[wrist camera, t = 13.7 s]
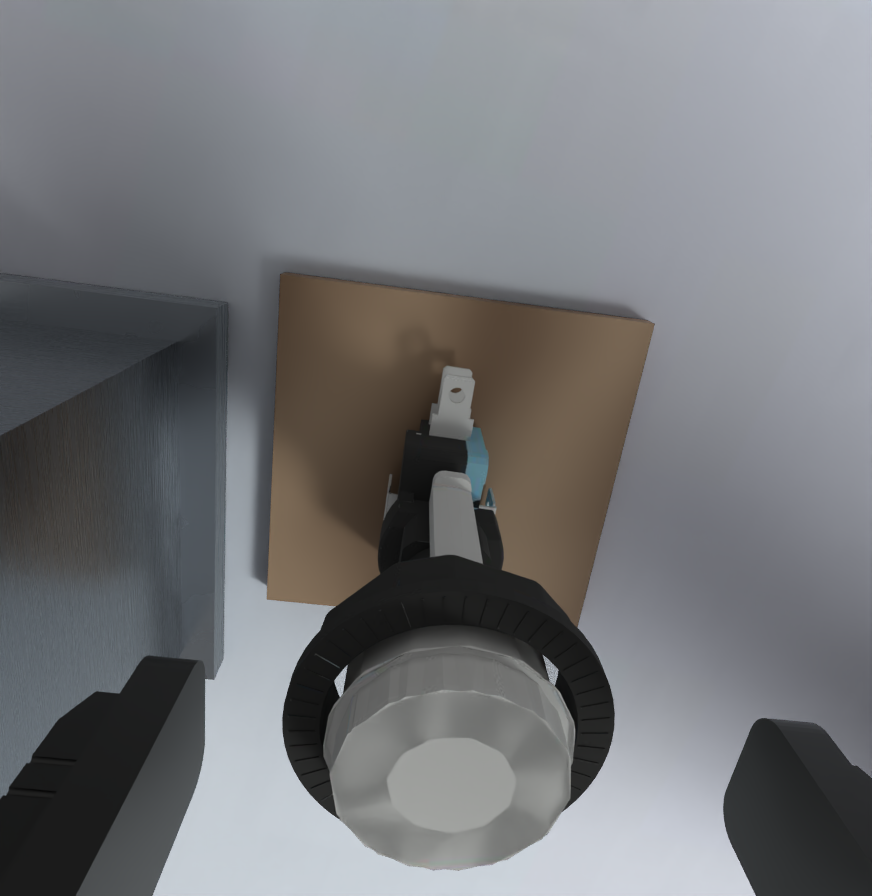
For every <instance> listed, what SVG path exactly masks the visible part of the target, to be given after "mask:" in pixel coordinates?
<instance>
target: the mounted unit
mask: <svg viewBox="0 0 872 896" xmlns="http://www.w3.org/2000/svg"><path fill="white" fill-rule="evenodd" d="M227 339H228V303H227V302H219V301H212V300H204V299H196V298H188V297H181V296H173V295H165V294H157V293H150V292H142V291H134V290H126V289H119V288H111V287H103V286H95V285H88V284H80V283H72V282H64V281H57V280H49V279H41V278H33V277H26V276H18V275H10V274H2V273H0V799H1V797H2V796H3V795H5V796H6V795H7V793H8V791H9V786H10V785H11V784H12V782H13V781H14V779H15V778H16V777H17V775H18V774H19V773H20V771H21V770H22V768H23V767H24V766H25V764H26V763H30V761H31V759H32V755H33V753H34V752H35V751H36V749H37V748H38V747H39V745H40V744H41V742H42V741H43V740H44V738H45V737H46V736H47V734H48V733H49V731H50V730H51V729H52V727H53V726H54V725H55V723H56V722H57V720H58V719H60V718H61V717H62V716H64V715H65V714H66V713H68V712H69V711H70V710H72V709H73V708H74V707H76V706H77V705H78V704H80V703H81V702H82V701H84V700H85V699H86V698H88V697H89V696H90V695H92V694H93V693H94V692H96V691H99V692H109V693H120V692H121V691H122V689H123V687H124V686H125V684H126V683H127V681H128V680H129V678H130V677H131V675H132V673H133V672H134V670H135V669H136V667H137V666H138V664H139V663H140V661H141V660H142V659H143V658H144V657H146V656H148V655H151V656H161V657H171V658H181V659H191V660H201V661H203V663H204V666H205V679H212V680H214V679H215V676H216V674H217V672H218V670H219V667H220V665H221V663H222V661H223V646H224V569H225V492H226V415H227Z"/></svg>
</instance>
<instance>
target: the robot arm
mask: <svg viewBox="0 0 872 896" xmlns="http://www.w3.org/2000/svg"><path fill="white" fill-rule="evenodd" d="M204 746H205V666H204V663H203V661H201V660H191V659H181V658H171V657H161V656H151V655H148V656H146V657H144V658H143V659H142V660H141V661H140V663H139V664H138V666H137V667H136V669H135V670H134V672H133V673H132V675H131V677H130V678H129V680H128V681H127V683H126V684H125V686H124V687H123V689H122V691H121V692H120V693H109V692H99V691H96V692H94V693H93V694H92V695H90V696H89V697H88V698H86V699H85V700H84V701H82V702H81V703H80V704H78V705H77V706H76V707H74V708H73V709H72V710H70V711H69V712H68V713H66V714H65V715H64V716H62V717H61V718H60V719H58V720H57V722H56V723H55V725H54V726H53V727H52V729H51V730H50V731H49V733H48V734H47V736H46V737H45V738H44V740H43V741H42V742H41V744H40V745H39V747H38V748H37V749H36V751H35V752H34V753H33V755H32V759H31V761H30V763H26V764H25V766H24V767H23V768H22V770H21V771H20V773H19V774H18V775H17V777H16V778H15V779H14V781H13V782H12V784H11V785H10V786H9V791H8V793H7V795H6V796H5V795H3V796H2V797H1V799H0V896H152V895H153V893H154V890H155V888H156V885H157V883H158V880H159V878H160V875H161V873H162V870H163V868H164V865H165V863H166V860H167V858H168V856H169V853H170V851H171V848H172V846H173V843H174V841H175V838H176V836H177V833H178V831H179V828H180V826H181V823H182V821H183V818H184V816H185V813H186V811H187V808H188V806H189V803H190V801H191V798H192V796H193V793H194V791H195V788H196V785H197V782H198V778H199V774H200V770H201V766H202V761H203V755H204ZM723 813H724V821H725V827H726V831H727V834H728V837H729V840H730V842H731V845H732V847H733V849H734V851H735V853H736V855H737V857H738V859H739V861H740V863H741V865H742V867H743V870H744V872H745V874H746V876H747V878H748V880H749V882H750V884H751V886H752V888H753V890H754V892H755V895H756V896H872V778H871V777H870V776H868V775H867V774H866V773H865V772H864V771H862V770H861V769H860V768H859V767H858V766H853V765H851V763H850V762H849V761H848V760H847V758H846V757H845V756H844V754H843V753H842V752H841V750H840V749H839V748H838V747H837V745H836V744H835V743H834V741H833V740H832V739H831V737H830V736H829V735H828V734H827V732H826V731H825V730H824V729H823V728H821V727H820V726H818V725H817V724H814V723H808V722H798V721H787V720H777V719H767V718H761V719H759V720H757V721H756V722H755V723H754V724H753V726H752V728H751V730H750V732H749V735H748V737H747V740H746V742H745V745H744V747H743V750H742V752H741V755H740V757H739V760H738V762H737V765H736V767H735V770H734V772H733V775H732V777H731V780H730V782H729V784H728V787H727V789H726V792H725V796H724V804H723Z"/></svg>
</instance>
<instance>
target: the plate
mask: <svg viewBox="0 0 872 896" xmlns="http://www.w3.org/2000/svg"><path fill="white" fill-rule="evenodd" d="M654 325H655V324H654V323H652V322H650V321H648V320H641V319H634V318H626V317H618V316H611V315H603V314H596V313H588V312H581V311H573V310H566V309H558V308H551V307H543V306H536V305H528V304H521V303H513V302H505V301H498V300H490V299H483V298H475V297H468V296H460V295H453V294H445V293H438V292H430V291H423V290H415V289H408V288H400V287H393V286H385V285H377V284H370V283H362V282H355V281H347V280H340V279H332V278H325V277H317V276H310V275H302V274H295V273H287V272H285V273H282V274H280V294H279V318H278V342H277V366H276V390H275V414H274V438H273V462H272V486H271V510H270V534H269V558H268V582H267V599H268V600H278V601H288V602H298V603H308V604H318V605H328V606H337V605H339V604H340V603H341V602H343V601H344V600H345V599H347V598H348V597H350V596H351V595H352V594H354V593H355V592H356V591H358V590H359V589H361V588H362V587H363V586H365V585H366V584H367V583H369V582H370V581H371V580H373V579H374V578H376V577H377V576H378V575H380V572H379V567H378V547H379V540H380V533H381V528H382V523H383V519H384V511H385V504H386V497H387V490H388V483H389V476H390V474H392V481H391V489H390V493H393V494H398V490H399V482H400V474H401V466H402V458H403V450H404V443H405V436H406V431H407V429H408V430H415V431H419V429H420V423H421V419H422V420H429V419H430V413H431V406H432V403H434V404H438V398H439V391H440V385H441V379H442V373H443V368H444V367H446V366H453V367H459V368H466V369H470V370H471V371H472V378H473V379H474V381H475V385H474V391H473V396H472V402H471V407H470V409H471V415H470V419H474V423H473V427H477V428H480V429H481V432H482V436H483V440H484V444H485V448H486V450H487V451H488V455H489V464H488V471H487V477H486V482H485V484H484V485H483V490H482V495H481V500H480V505H483V506H485V502H486V497H487V492H488V489H489V488H492V490H493V494H494V498H495V502H496V504H495V506H496V507H497V508H496V513H495V516H496V519H497V522H498V526H499V530H500V534H501V539H502V543H503V548H504V561H503V567H502V570H503V571H506V572H510V573H513V574H516V575H519V576H522V577H525V578H528V579H531V580H534V581H536V582H537V583H539V584H540V585H541V586H542V587H543V588H544V589H545V590H546V592H547V593H548V594H549V595H550V596H551V597H552V598H553V599H554V601H555V602H556V603H557V604H558V605H559V606H560V607H561V608H562V610H563V611H564V612H565V613H566V614H567V615H568V617H569V618H570V621H571V622H572V623H573V624H574V625H575V626H576V627H577V626H578V622H579V619H580V615H581V611H582V607H583V603H584V599H585V595H586V591H587V587H588V583H589V579H590V575H591V572H592V568H593V564H594V560H595V556H596V552H597V548H598V544H599V540H600V536H601V532H602V528H603V524H604V521H605V517H606V513H607V509H608V505H609V501H610V497H611V493H612V489H613V485H614V481H615V477H616V474H617V470H618V466H619V462H620V458H621V454H622V450H623V446H624V442H625V438H626V434H627V430H628V426H629V423H630V419H631V415H632V411H633V407H634V403H635V399H636V395H637V391H638V387H639V383H640V379H641V375H642V372H643V368H644V364H645V360H646V356H647V352H648V348H649V344H650V340H651V336H652V332H653V328H654ZM461 390H462V389H461V388H453V389H452V390H451V392H454V393H457V392H459V391H461Z"/></svg>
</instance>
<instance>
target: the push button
mask: <svg viewBox="0 0 872 896" xmlns="http://www.w3.org/2000/svg"><path fill="white" fill-rule="evenodd" d="M474 385H475V381H474V379H473V378H472V371H471V370H470V369H466V368H459V367H453V366H446V367H444V368H443V373H442V379H441V385H440V391H439V398H438V404H434V403H432V406H431V413H430V419H429V420H422V419H421V423H420V429H419V431H415V430H408V429H407V431H406V436H405V443H404V450H403V458H402V466H401V474H400V482H399V490H398V494H393V493H390V489H391V481H392V474H390V476H389V483H388V490H387V497H386V504H385V511H384V519H383V523H382V528H381V533H380V540H379V547H378V567H379V572H380V575H378V576H377V577H376V578H374V579H373V580H371V581H370V582H369V583H367V584H366V585H365V586H363V587H362V588H361V589H359V590H358V591H356V592H355V593H354V594H352V595H351V596H350V597H348V598H347V599H345V600H344V601H343V602H341V603H340V604H339V605H337V606H336V607H334V608H333V609H332V610H331V611H330V612H329V613H328V614H327V615H326V617H325V620H324V622H323V625H322V628H321V630H320V631H319V632H318V634H317V635H316V636H315V637H314V638H313V639H312V641H311V642H310V643H309V645H308V646H307V647H306V649H305V650H304V652H303V654H302V655H301V657H300V659H299V661H298V663H297V665H296V667H295V670H294V672H293V674H292V678H291V681H290V685H289V688H288V692H287V696H286V699H285V703H284V710H283V737H284V744H285V748H286V751H287V755H288V758H289V760H290V763H291V765H292V767H293V770H294V772H295V773H296V775H297V777H298V778H299V780H300V782H301V783H302V784H303V786H304V787H305V788H306V790H307V791H308V792H309V793H310V795H311V796H312V797H313V798H314V799H315V800H316V801H317V802H318V803H319V804H320V805H321V806H323V807H324V808H325V809H326V810H327V811H328V812H330V813H331V814H332V815H334V816H335V817H337V818H338V819H340V821H342V822H343V823H344V824H345V825H346V826H347V827H348V828H349V829H350V830H351V831H352V832H353V833H354V834H355V836H356V837H357V838H358V839H359V840H360V841H361V842H362V843H363V845H364V846H365V847H368V848H370V849H372V850H374V851H375V852H376V853H377V854H378V855H382V856H385V857H389V858H392V859H394V860H396V861H398V862H401V863H403V864H405V865H407V866H414V867H423V868H427V869H430V870H442V869H447V870H458V871H459V870H463V869H468V868H472V867H477V866H485V865H493V864H495V863H497V862H499V861H503V860H508V859H509V858H511V857H512V856H514V855H516V854H517V853H519V852H520V851H522V850H523V849H525V848H527V847H528V846H530V845H532V844H534V843H535V842H537V841H539V840H541V839H542V838H543V837H544V836H545V835H547V834H548V833H549V831H550V829H551V828H552V826H553V825H554V823H555V822H556V820H557V819H558V817H559V815H560V814H561V812H563V811H564V810H565V809H567V808H568V807H569V806H570V805H571V804H572V803H574V802H575V801H576V800H577V799H578V798H579V797H580V796H581V795H582V794H583V793H584V791H585V790H586V789H587V788H588V787H589V785H590V784H591V783H592V781H593V780H594V779H595V777H596V776H597V774H598V772H599V771H600V769H601V767H602V766H603V763H604V761H605V759H606V757H607V754H608V752H609V748H610V745H611V742H612V737H613V731H614V716H615V712H614V703H613V697H612V693H611V689H610V685H609V683H608V680H607V678H606V675H605V673H604V670H603V668H602V665H601V663H600V660H599V658H598V656H597V654H596V652H595V651H594V649H593V647H592V645H591V644H590V643H589V641H588V640H587V639H586V637H585V636H584V635H583V633H582V632H581V631H580V630H579V629H578V628H577V627H576V626H575V625H574V624H573V623H572V622H571V621H570V618H569V617H568V615H567V614H566V613H565V612H564V611H563V610H562V608H561V607H560V606H559V605H558V604H557V603H556V602H555V601H554V599H553V598H552V597H551V596H550V595H549V594H548V593H547V592H546V590H545V589H544V588H543V587H542V586H541V585H540V584H539V583H537V582H536V581H534V580H531V579H528V578H525V577H522V576H519V575H516V574H513V573H510V572H506V571H503V570H502V567H503V561H504V548H503V543H502V539H501V534H500V530H499V526H498V522H497V519H496V516H495V513H496V508H497V507H496V506H495V504H496V502H495V498H494V494H493V490H492V488H489V489H488V492H487V497H486V502H485V506H483V505H480V500H481V495H482V490H483V485H484V484H485V482H486V477H487V471H488V464H489V455H488V451H487V450H486V448H485V444H484V440H483V436H482V432H481V429H480V428H477V427H473V423H474V419H470V415H471V409H470V407H471V402H472V396H473V391H474ZM453 388H461V389H462V390H461V391H459V392H457V393H454V392H451V390H452V389H453ZM542 654H543V655H544V656H545V657H547V658H548V659H549V660H550V661H551V662H552V663H553V664H554V665H555V666H556V667H557V668H558V670H559V671H558V677H557V681H556V684H555V686H554V685H553V684H552V683H551V682H550V681H549V677H548V673H547V670H546V666H545V662H544V659H543V655H542ZM347 665H348V667H347V673H346V679H345V685H344V691H343V695H342V696H341V697H339V695H338V692H337V689H336V686H335V683H334V680H335V679H336V677H337V676H338V675H339V674H340V672H341V671H342V670H343V669H344V668H345V667H346V666H347Z"/></svg>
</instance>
